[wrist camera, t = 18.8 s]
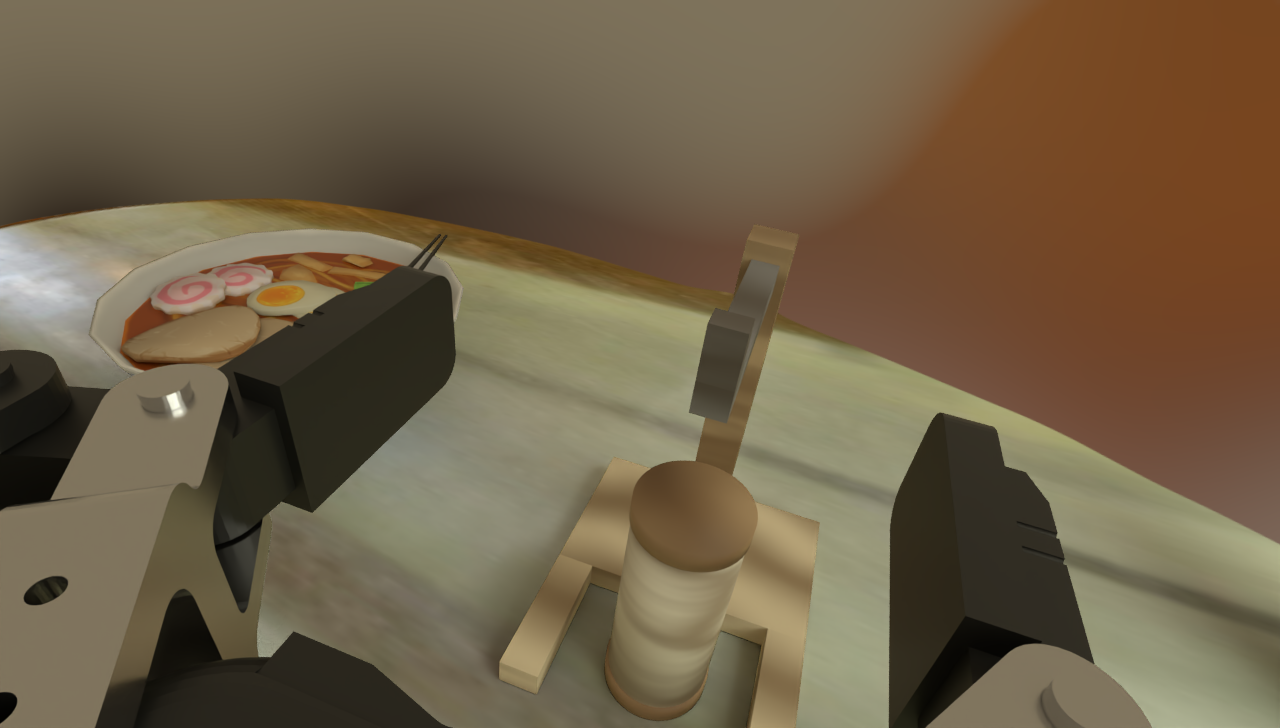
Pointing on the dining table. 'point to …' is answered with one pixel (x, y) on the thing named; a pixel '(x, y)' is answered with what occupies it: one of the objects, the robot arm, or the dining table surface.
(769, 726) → the hook stand
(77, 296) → the dining table surface
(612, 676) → the cord spool
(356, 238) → the ramen bowl
